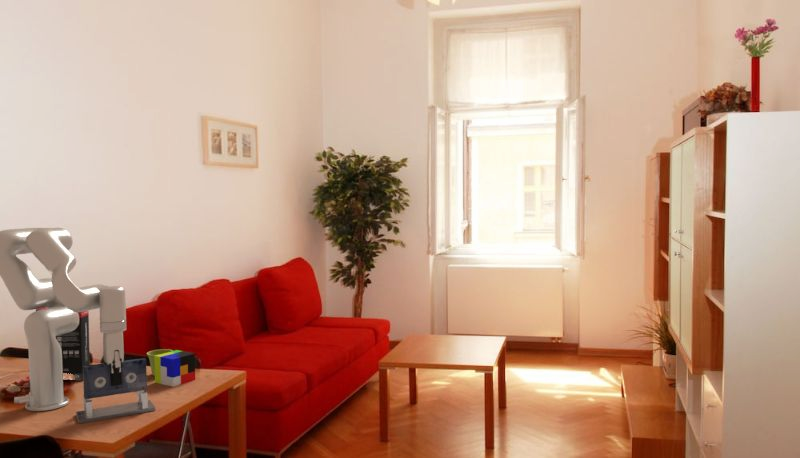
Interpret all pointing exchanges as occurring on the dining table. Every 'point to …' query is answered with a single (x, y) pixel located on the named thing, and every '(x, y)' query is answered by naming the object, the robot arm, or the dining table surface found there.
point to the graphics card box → (75, 347)
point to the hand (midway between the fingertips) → (115, 383)
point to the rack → (114, 409)
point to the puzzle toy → (174, 368)
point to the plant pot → (151, 357)
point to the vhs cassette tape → (99, 378)
